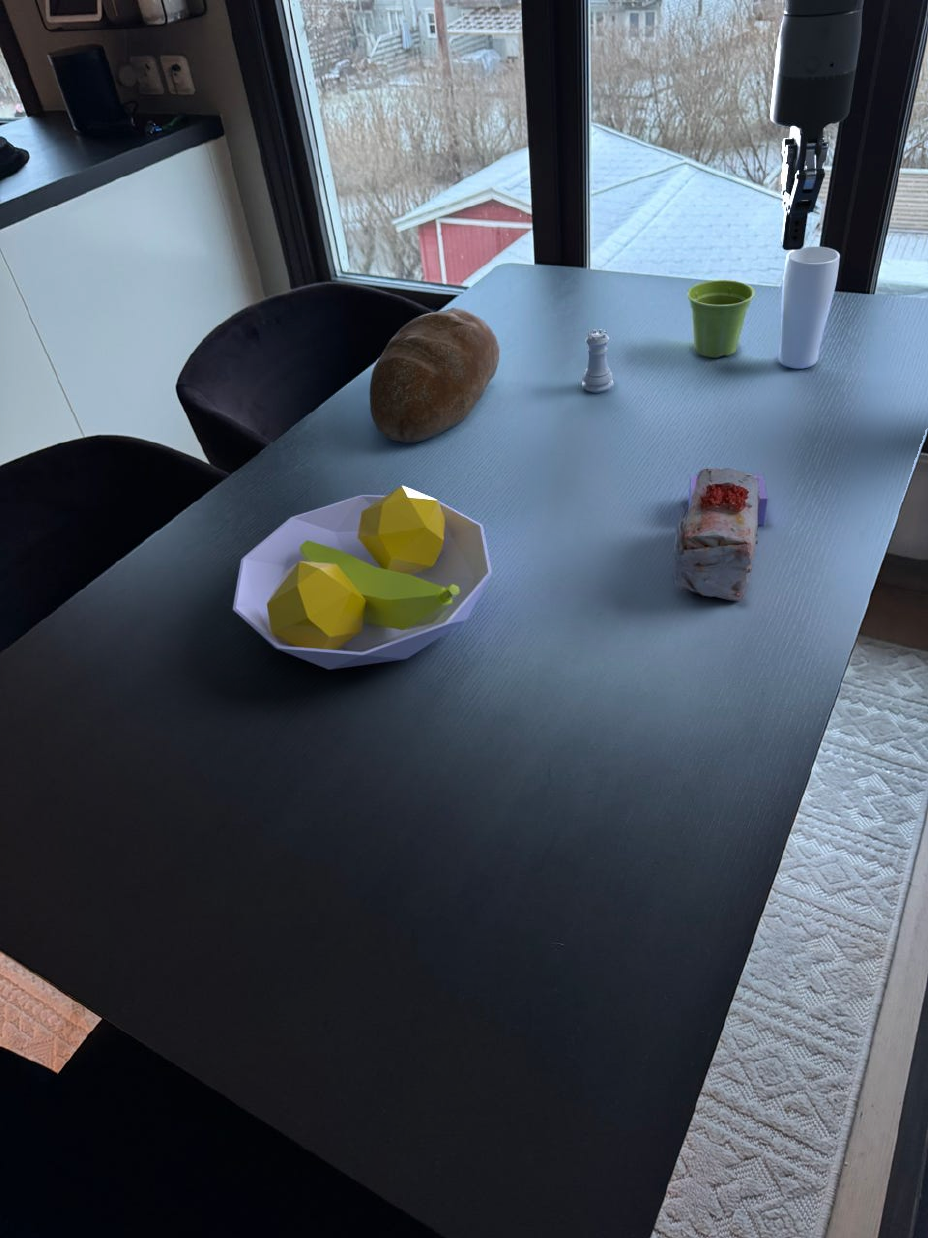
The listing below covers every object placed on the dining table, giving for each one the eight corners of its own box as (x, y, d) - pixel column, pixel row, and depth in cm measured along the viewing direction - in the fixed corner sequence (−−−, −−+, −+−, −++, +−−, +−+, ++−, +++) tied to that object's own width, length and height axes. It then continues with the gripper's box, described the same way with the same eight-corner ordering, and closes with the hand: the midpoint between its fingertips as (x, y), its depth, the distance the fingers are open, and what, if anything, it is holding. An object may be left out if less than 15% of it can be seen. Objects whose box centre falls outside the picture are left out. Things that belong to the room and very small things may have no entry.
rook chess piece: (619, 384, 127) (620, 330, 121) (601, 396, 124) (600, 342, 119) (594, 376, 129) (593, 323, 124) (575, 389, 127) (574, 335, 122)
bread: (517, 356, 137) (512, 283, 130) (457, 452, 117) (447, 372, 109) (423, 352, 142) (413, 281, 135) (351, 444, 122) (334, 366, 114)
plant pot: (757, 341, 132) (764, 283, 127) (735, 367, 127) (741, 308, 121) (697, 333, 137) (701, 276, 131) (673, 358, 131) (676, 300, 125)
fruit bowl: (223, 584, 100) (193, 500, 93) (443, 512, 106) (431, 428, 99) (284, 751, 80) (251, 661, 72) (551, 650, 86) (546, 557, 79)
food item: (750, 611, 87) (762, 530, 81) (668, 603, 89) (673, 523, 83) (756, 531, 97) (766, 453, 90) (682, 526, 99) (687, 449, 93)
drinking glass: (815, 375, 122) (832, 265, 113) (766, 368, 125) (779, 261, 116) (828, 355, 126) (846, 247, 117) (780, 349, 130) (794, 243, 120)
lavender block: (760, 500, 101) (763, 474, 99) (764, 525, 98) (767, 498, 95) (688, 500, 103) (690, 474, 101) (689, 524, 99) (691, 498, 97)
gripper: (868, 75, 81) (837, 267, 92) (845, 49, 90) (819, 225, 102) (782, 82, 82) (761, 271, 93) (768, 56, 92) (751, 229, 103)
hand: (791, 247), depth 97 cm, fingers closed
